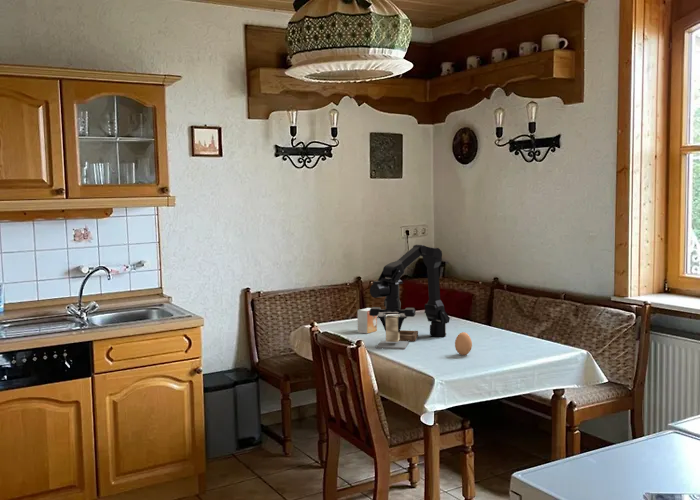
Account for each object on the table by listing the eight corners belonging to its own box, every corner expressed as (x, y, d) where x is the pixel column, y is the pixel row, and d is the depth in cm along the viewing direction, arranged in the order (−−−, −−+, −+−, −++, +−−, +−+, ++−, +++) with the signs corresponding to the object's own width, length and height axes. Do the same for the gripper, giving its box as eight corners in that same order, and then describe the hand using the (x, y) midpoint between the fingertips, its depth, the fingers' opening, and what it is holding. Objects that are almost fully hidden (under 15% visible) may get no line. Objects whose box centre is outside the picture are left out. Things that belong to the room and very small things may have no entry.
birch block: (399, 339, 302) (399, 315, 301) (397, 341, 297) (397, 318, 296) (387, 339, 303) (387, 315, 302) (385, 341, 298) (385, 317, 297)
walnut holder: (418, 336, 318) (418, 330, 318) (415, 341, 308) (415, 335, 308) (394, 335, 321) (394, 330, 320) (391, 340, 310) (391, 334, 310)
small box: (367, 334, 325) (367, 311, 324) (357, 332, 329) (357, 309, 328) (377, 331, 332) (377, 308, 331) (367, 329, 335) (367, 307, 334)
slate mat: (408, 343, 305) (408, 341, 305) (405, 349, 293) (405, 347, 293) (381, 342, 307) (381, 340, 307) (376, 348, 296) (376, 346, 296)
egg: (451, 355, 282) (451, 332, 282) (461, 352, 287) (461, 329, 286) (465, 357, 278) (465, 334, 277) (475, 355, 282) (475, 332, 281)
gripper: (417, 292, 304) (417, 329, 306) (373, 292, 308) (374, 327, 310) (413, 296, 294) (414, 334, 295) (368, 296, 297) (369, 333, 299)
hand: (392, 332), depth 300 cm, fingers closed on birch block, 5 cm apart
